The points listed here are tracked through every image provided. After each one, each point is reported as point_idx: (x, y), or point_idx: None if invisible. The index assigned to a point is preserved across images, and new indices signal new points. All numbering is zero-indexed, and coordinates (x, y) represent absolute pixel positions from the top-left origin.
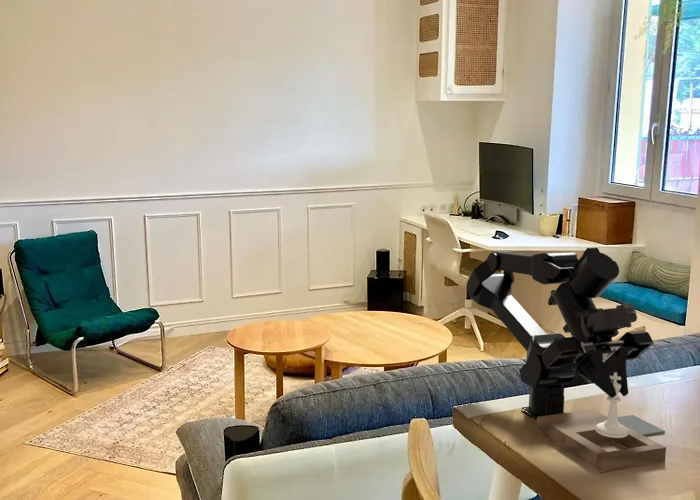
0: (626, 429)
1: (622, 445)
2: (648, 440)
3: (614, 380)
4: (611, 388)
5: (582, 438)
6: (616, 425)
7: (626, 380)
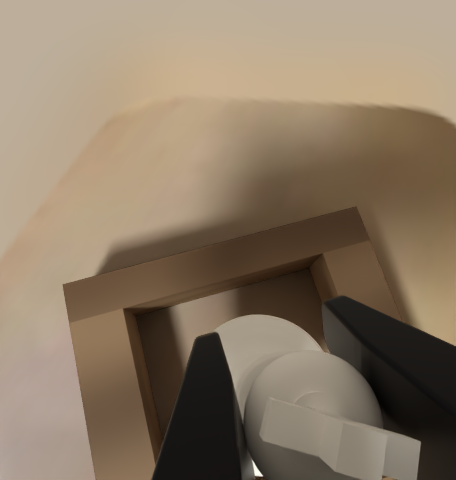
0: None
1: None
2: (96, 359)
3: (340, 416)
4: (384, 314)
5: None
6: (253, 360)
7: (179, 422)
